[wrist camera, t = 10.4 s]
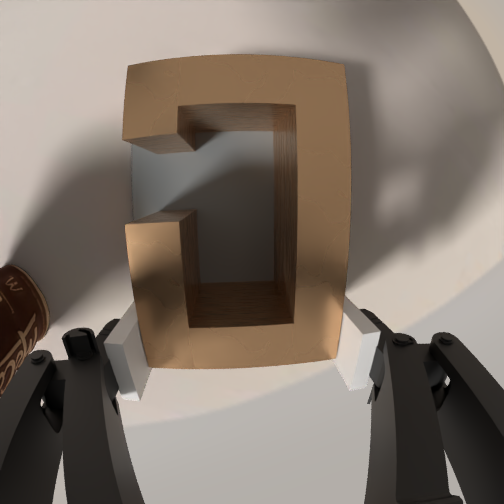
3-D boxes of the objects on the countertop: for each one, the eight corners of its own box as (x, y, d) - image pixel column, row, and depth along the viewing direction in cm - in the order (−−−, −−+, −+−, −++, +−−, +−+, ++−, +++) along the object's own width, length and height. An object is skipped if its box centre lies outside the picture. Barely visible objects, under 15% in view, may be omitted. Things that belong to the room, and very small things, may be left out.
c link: (158, 101, 12) (128, 65, 7) (308, 99, 13) (344, 64, 8) (169, 315, 15) (149, 367, 10) (306, 310, 16) (335, 358, 11)
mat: (137, 93, 12) (134, 89, 12) (329, 91, 13) (333, 88, 13) (150, 326, 16) (148, 330, 15) (325, 319, 17) (328, 323, 16)
